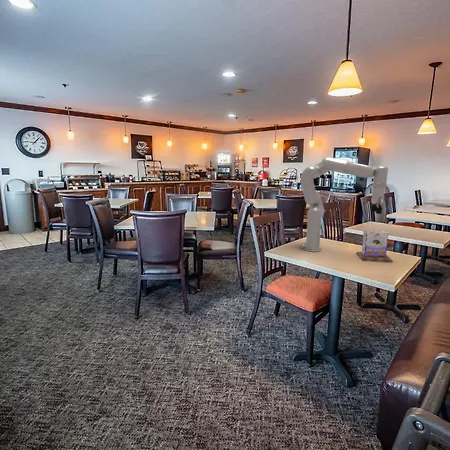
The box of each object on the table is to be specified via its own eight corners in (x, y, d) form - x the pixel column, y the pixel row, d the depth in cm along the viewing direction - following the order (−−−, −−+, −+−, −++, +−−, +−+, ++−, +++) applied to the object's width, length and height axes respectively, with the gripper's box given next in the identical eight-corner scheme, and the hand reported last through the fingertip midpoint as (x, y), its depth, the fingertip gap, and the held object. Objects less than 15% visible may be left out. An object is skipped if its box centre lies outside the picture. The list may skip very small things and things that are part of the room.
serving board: (362, 260, 192) (362, 258, 192) (356, 253, 208) (356, 251, 208) (392, 262, 189) (392, 260, 189) (384, 255, 205) (384, 253, 204)
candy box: (382, 254, 201) (385, 230, 198) (386, 257, 195) (388, 232, 192) (361, 254, 202) (363, 230, 199) (364, 256, 196) (366, 232, 193)
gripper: (369, 185, 200) (366, 210, 203) (377, 186, 183) (373, 214, 186) (381, 185, 198) (378, 210, 202) (390, 187, 182) (386, 214, 185)
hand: (376, 212), depth 194 cm, fingers open, 9 cm apart
